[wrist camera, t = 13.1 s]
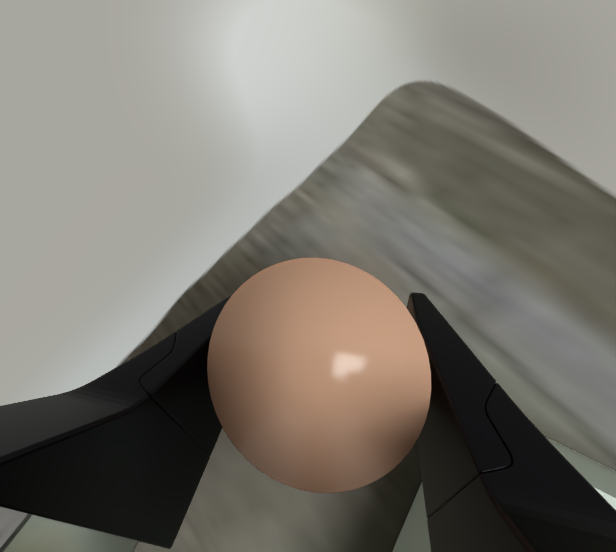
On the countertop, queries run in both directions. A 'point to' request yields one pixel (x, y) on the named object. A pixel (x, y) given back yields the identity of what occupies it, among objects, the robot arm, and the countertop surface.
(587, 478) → the tote
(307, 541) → the countertop surface
